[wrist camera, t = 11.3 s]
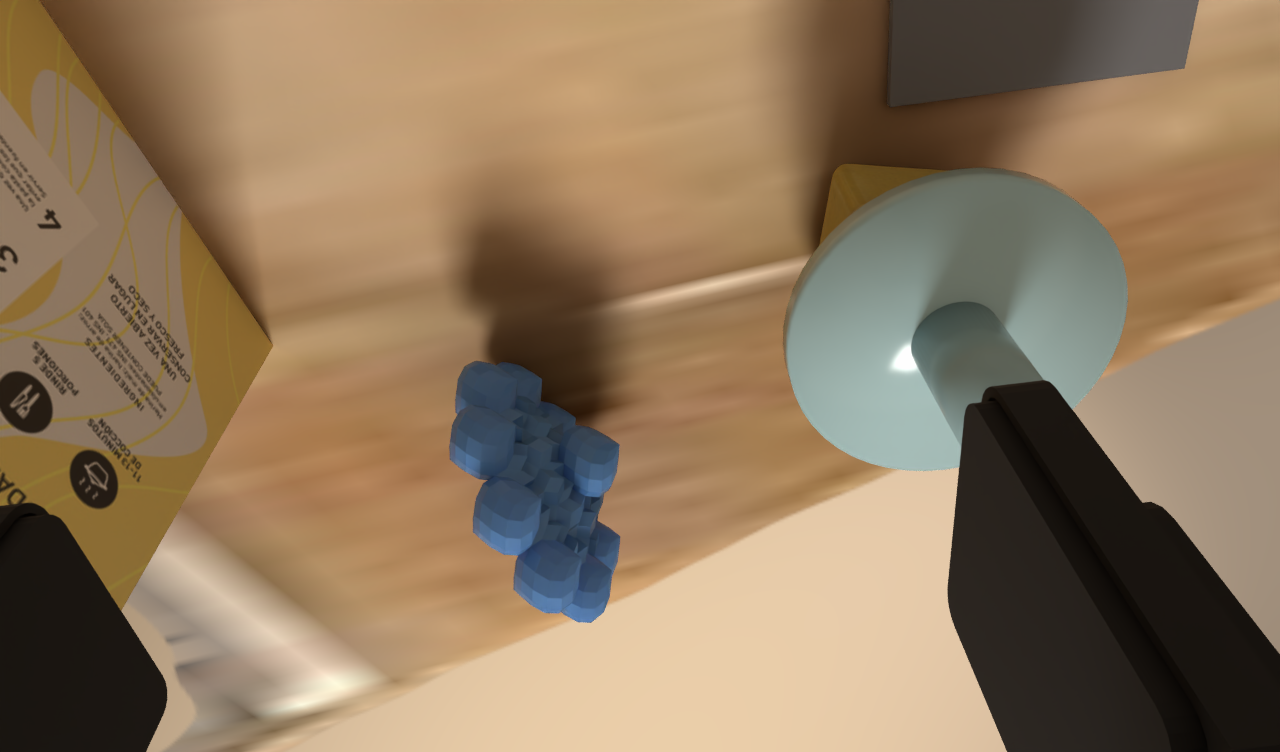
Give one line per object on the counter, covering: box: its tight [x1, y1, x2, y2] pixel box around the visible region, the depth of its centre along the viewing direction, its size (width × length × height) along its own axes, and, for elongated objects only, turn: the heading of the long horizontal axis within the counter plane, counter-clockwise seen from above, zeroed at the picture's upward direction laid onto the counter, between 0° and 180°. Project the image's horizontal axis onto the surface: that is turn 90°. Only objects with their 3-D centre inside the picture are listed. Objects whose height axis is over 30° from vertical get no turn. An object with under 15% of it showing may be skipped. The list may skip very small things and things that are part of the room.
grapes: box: [449, 361, 620, 623], centre depth 40 cm, size 12×7×12 cm, turn 31°
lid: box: [783, 168, 1128, 471], centre depth 31 cm, size 12×12×6 cm
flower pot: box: [819, 164, 950, 246], centre depth 37 cm, size 9×9×9 cm
